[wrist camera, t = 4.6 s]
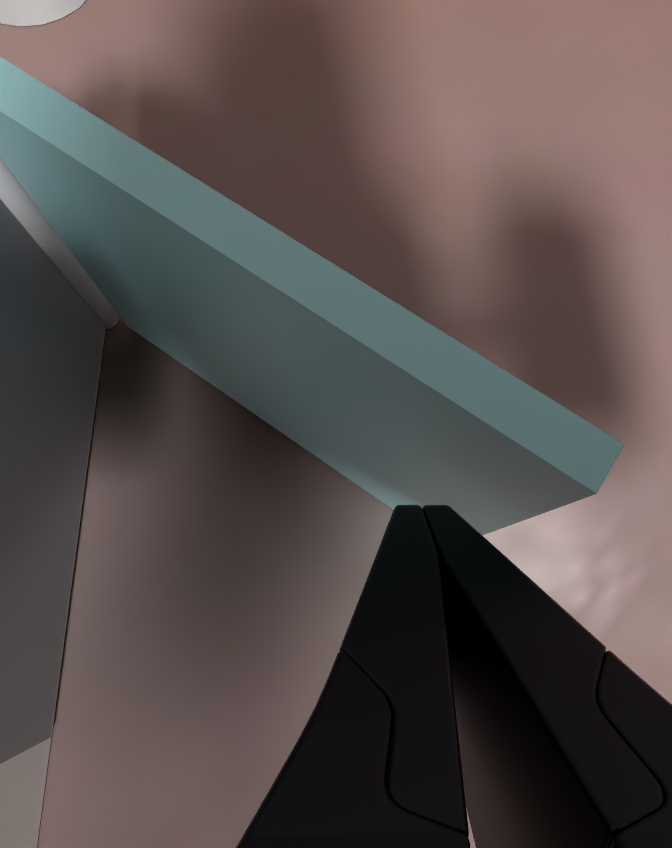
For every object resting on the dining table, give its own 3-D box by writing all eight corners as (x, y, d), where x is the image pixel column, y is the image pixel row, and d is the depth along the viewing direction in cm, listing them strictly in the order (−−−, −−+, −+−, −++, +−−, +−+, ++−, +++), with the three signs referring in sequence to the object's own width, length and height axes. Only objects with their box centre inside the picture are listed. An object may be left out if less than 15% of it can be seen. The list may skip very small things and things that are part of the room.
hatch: (125, 325, 18) (-67, 67, 9) (162, 284, 18) (14, 2, 9) (448, 547, 16) (596, 494, 7) (480, 496, 16) (657, 386, 8)
